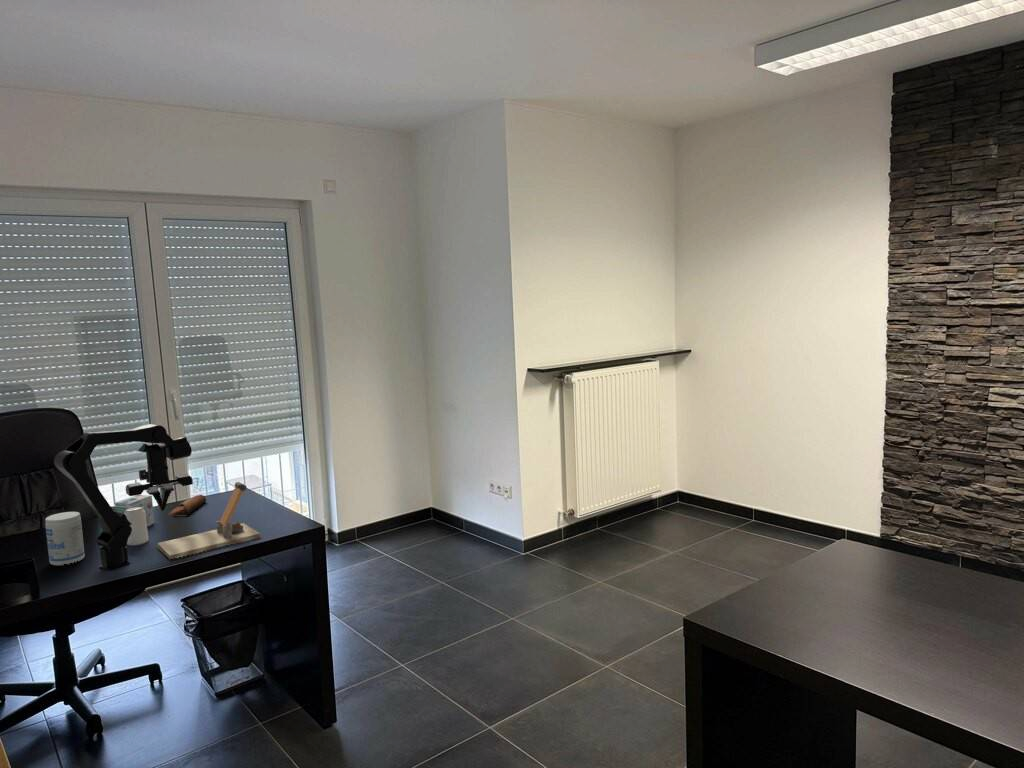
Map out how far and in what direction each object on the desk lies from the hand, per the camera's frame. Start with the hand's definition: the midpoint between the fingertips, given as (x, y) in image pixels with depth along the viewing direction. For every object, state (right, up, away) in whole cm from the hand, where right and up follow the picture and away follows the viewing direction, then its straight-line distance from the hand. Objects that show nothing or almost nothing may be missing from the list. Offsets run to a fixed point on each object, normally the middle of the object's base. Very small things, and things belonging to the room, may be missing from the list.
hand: (162, 510), depth 230 cm
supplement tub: (-28, -15, -5) cm, 32 cm away
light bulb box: (-22, -11, +27) cm, 37 cm away
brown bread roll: (-13, -9, +47) cm, 50 cm away
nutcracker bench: (+12, -12, +6) cm, 18 cm away
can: (-13, -13, +10) cm, 21 cm away
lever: (+16, -6, +9) cm, 19 cm away
